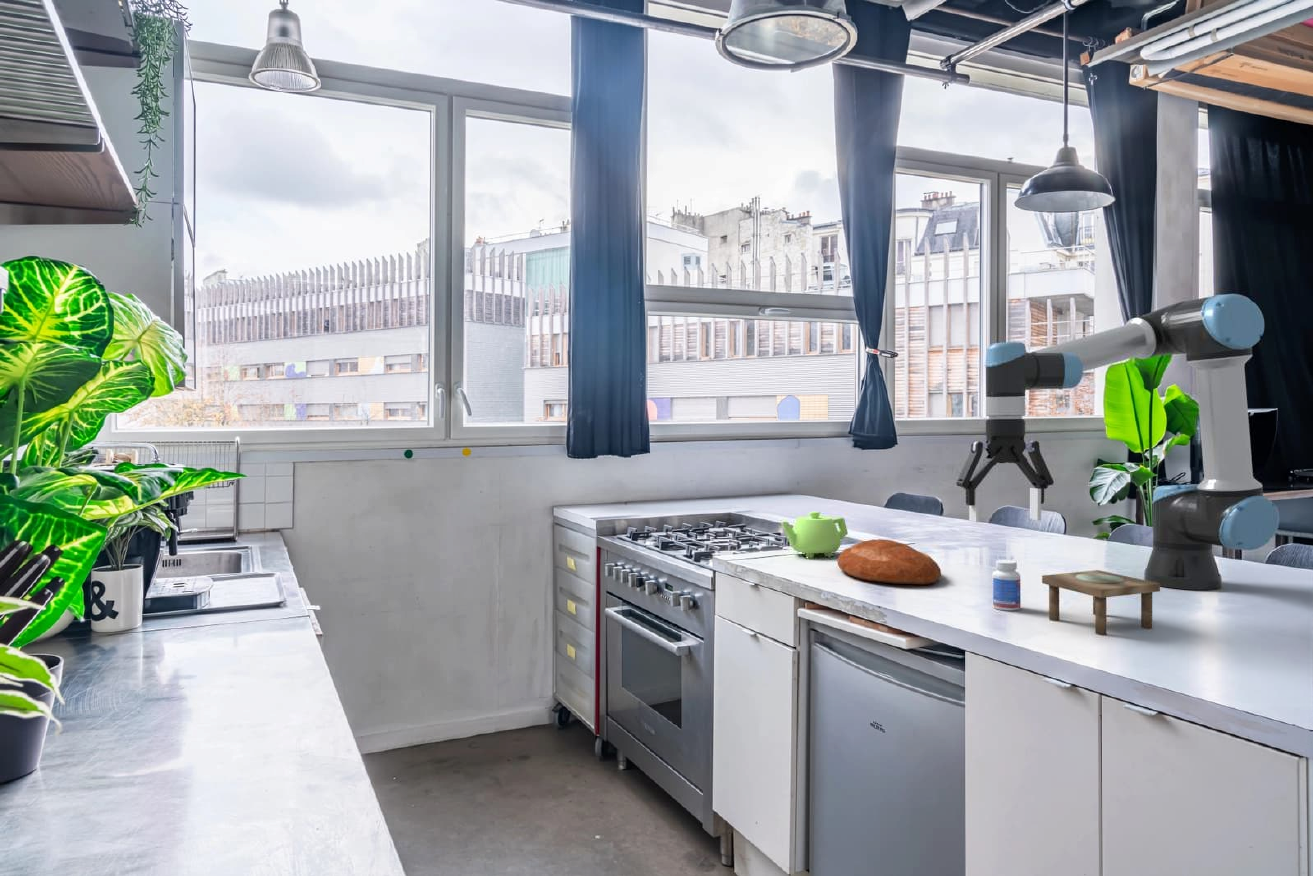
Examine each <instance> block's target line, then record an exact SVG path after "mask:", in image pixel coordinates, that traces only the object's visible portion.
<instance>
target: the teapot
mask: <svg viewBox="0 0 1313 876" xmlns="http://www.w3.org/2000/svg"><path fill="white" fill-rule="evenodd" d="M820 513H821V512H820V511H810V512H809V516H799V517H797V518H796V520H795V522H794V524H793V527H792V526H791V525H790V523H789V522H788V521H781V526H782V528H783V531H784V533H785V535H786V538H787V541H788V542H789V544H790V546H791V548H792V549H793V550H794V551H796V552H797V553H798V552H802V553H806V554H805V556H806V557H808V558H807V559H814V558H815V554H818V553H824V554H823V555H824V557H825V556H834V554H833V553H835V552H838V550H839V548H840V547H841V544H842V543H841V540H843V539H844V538H845V537H846V536H847V535H848V534H849V533H848V529H847V524H846V522H845V518H844V517H842V516H841V517H835V518H834V517H833V518H831V517H828V516H822V515H821V516H820ZM836 524H837V525H836ZM813 557H814V558H813Z"/></svg>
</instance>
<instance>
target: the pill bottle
mask: <svg viewBox="0 0 1313 876" xmlns="http://www.w3.org/2000/svg"><path fill="white" fill-rule="evenodd" d="M1017 566H1018V564H1017V561H1016V560H1009V559H998V560H995V569H996V570H995V571H993V572H992V576H991V578H992V579H991V581H992V582H991V583H992V584H991V585H992V587H991V588H992V595H991V596H992V597H991V599H992V608H993V609H996V610H999V611H1008V612H1009V611H1010V612H1014V611H1019V610H1020V609H1021V605H1022V604H1021V603H1022V602H1021V599H1022V598H1021V574H1020V573H1019V572H1018V571H1016V570H1017V569H1018V567H1017Z"/></svg>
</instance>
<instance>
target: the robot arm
mask: <svg viewBox="0 0 1313 876" xmlns="http://www.w3.org/2000/svg"><path fill="white" fill-rule="evenodd" d="M1264 331H1265V319H1264V315H1263V313H1262V310H1261V309H1260V308H1259V306H1258V305H1257V304H1256V302H1253V301H1252V300H1251V299H1250V298H1249V297H1247V296H1244V295H1242V294H1237V293H1230V294H1229V293H1228V294H1227V293H1226V294H1217V295H1211V296H1208V297H1203V298H1196V299H1193V300H1185V301H1179V302H1176V303H1173V304H1170V305H1167V306H1164V307H1162V308H1160V309H1157V310H1154V311H1151V312H1149V313H1147V314H1146V313H1145V314H1143V315H1141V316H1140V315H1139V316H1137V317H1133V318H1130V319H1129V320H1128V321H1127V322H1126V323H1125V325H1121V326H1118V327H1114V328H1111V329H1107V330H1104V331H1100V332H1097V333H1093V334H1090V335H1086V336H1083V337H1079V338H1075V339H1072V340H1069V341H1065V342H1061V343H1059V344H1055V345H1051V346H1047V347H1044V348H1041V349H1040V348H1039V349H1037V350H1033V351H1031V352H1028V351H1027V349H1026V344H1025V343H1023V342H1018V341H1017V342H1016V341H1013V342H1011V341H1010V342H1008V341H1007V342H995V343H991V344H989V345H988V346H987V348H986V354H985V364H984V368H985V415H986V417H988V419H986V420H985V436H986V441H985V442H982V441H972V442H971V445H970V453H969V455H968V457H967V459H966V461H965V463H964V466H963V468H962V470H961V471H960V473H959V476H958V478H957V481H956V485H957V487H961V488H963V489H964V490H965V505H967V506H968V508H969V509H968V514H969V515H968V517H969V518H968V521H969V522H974V523H980V521H981V520H980V514H981V513H980V511H981V509H980V508H981V507H980V505H981V504H980V503H981V502H980V495H981V494H980V493H981V492H980V490H979V489H977V488H978V487H979V485H980V484H981V483H982V481H983V480H984V479H985V478H986V476H987V475H988V473H989V472H990V471H991V470H992V469H993V467H994V466H996V465H997V464H1007V463H1008V464H1015V465H1017V467H1018V468H1019V470H1020V471H1021V472H1022V473H1023V475H1024V476H1025V477H1026V479H1028V481H1029V482H1030V483H1031V485H1032V486H1033V487H1030V488H1029V520H1034V521H1042V504H1044V502H1045V490H1046V489H1048V488H1049V486H1053V485H1054V479H1053V477H1052V474H1051V472H1050V470H1049V468H1048V466H1047V464H1046V461H1045V460H1044V457H1043V455H1042V453H1041V450H1040V442H1039V441H1038V440H1028V441H1025V436H1026V420H1025V419H1024V418H1023V417H1026V391H1037V390H1038V391H1039V390H1040V391H1042V390H1060V391H1061V390H1066V389H1068V390H1069V389H1074V388H1076V387H1077V386H1078V385H1079V384H1080V383H1081V381H1082V378H1083V375H1084V372H1087V371H1091V370H1095V369H1098V368H1102V367H1106V366H1108V365H1112V364H1115V363H1118V362H1122V361H1125V360H1130V359H1134V358H1137V359H1140V360H1145V359H1149V358H1153V357H1156V356H1157V357H1158V356H1169V355H1170V356H1171V355H1183V354H1184V355H1185V357H1186V358H1185V359H1186V360H1185V361H1186V364H1188V365H1189V366H1191V367H1192V368H1194V370H1195V376H1196V377H1195V378H1196V390H1197V403H1198V404H1197V405H1198V413H1199V414H1198V415H1199V416H1198V417H1199V427H1200V440H1201V452H1202V453H1201V454H1202V465H1203V475H1204V476H1203V477H1204V478H1203V480H1202V481H1201V482H1199V484H1197V483H1196V484H1194V483H1193V484H1192V483H1191V484H1175V485H1161V486H1158V487H1156V488H1155V489H1154V491H1153V495H1152V501H1151V505H1152V507H1151V509H1152V550H1151V554H1150V556H1149V559H1148V562H1147V565H1146V568H1145V569H1144V573H1143V574H1144V576H1143V577H1144V578H1143V580H1146V581H1151V582H1156V583H1160V587H1164V588H1169V589H1170V588H1171V589H1179V590H1180V589H1181V590H1199V591H1200V590H1201V591H1203V590H1205V591H1206V590H1207V591H1209V590H1217V589H1221V588H1222V587H1223V586H1222V583H1223V582H1222V579H1223V578H1222V575H1221V573H1220V571H1219V568H1218V564H1217V562H1216V561H1217V560H1216V559H1215V557H1214V554H1213V545H1214V546H1218V547H1223V548H1227V549H1229V550H1233V551H1234V550H1236V551H1237V550H1242V551H1254V550H1258V549H1261V548H1263V547H1264V546H1265V545H1267V544H1268V543H1269V542H1270V540H1271V539H1273V537H1274V536H1275V535H1276V533H1277V531H1278V528H1279V525H1280V513H1279V509H1278V507H1277V505H1276V504H1274V502H1273V501H1272V500H1271V499H1268V498H1267V497H1266V496H1264V490H1263V489H1264V488H1263V483H1261V482H1260V481H1258V480H1257V479H1255V477H1254V473H1253V462H1252V459H1253V458H1252V449H1251V448H1252V447H1251V435H1250V422H1249V421H1250V420H1249V413H1248V412H1249V410H1248V399H1247V385H1246V372H1245V364H1246V363H1247V362H1248V361H1249V360H1250V359H1251V358H1252V357H1253V348H1252V347H1253V346H1254V345H1256V344H1257V343H1259V341H1260V340H1261V336H1263V334H1264ZM985 450H986V452H987V454H986V455H985V456H984V458H983V459H982V462H981V463H980V464H979V462H980V460H981V457H982V455H983V453H984V452H985ZM1025 451H1026V452H1027V453H1028V456H1029V459H1030V460H1031V463H1032V465H1031V464H1030V462H1029V461H1028V458H1027V457H1026V456H1025V454H1024V452H1025ZM978 464H979V466H978ZM977 466H978V467H977Z"/></svg>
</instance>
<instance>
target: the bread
mask: <svg viewBox="0 0 1313 876" xmlns="http://www.w3.org/2000/svg"><path fill="white" fill-rule="evenodd" d="M837 565H838V567H839V569H840V570H841V571H843V572H844V573H846V574H847V575H849V576H851V577H854V578H857V579H859V580H863V581H869V582H876V583H884V584H898V585H899V584H900V585H902V584H903V585H928V584H929V585H930V584H932V583H934V582H936V581H939V579H940V578H941V576H942V570H941V568H940V565H938V563H937V562H936V561H935V560H934V559H933V558H932V557H931V556H930V555H928V554H926V553H924V552H921V551H918V550H916V549H915V548H913V547H912V546H910V545H908V544H906V543H902V542H899V541H896V540H895V541H894V540H890V539H882V538H878V539H868V540H864V541H861V542H858V543H855V544H853V545H852V546H851V547H847V548H845V549H843V550H842V551H841V553H840V554H839V555H838V559H837Z"/></svg>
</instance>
